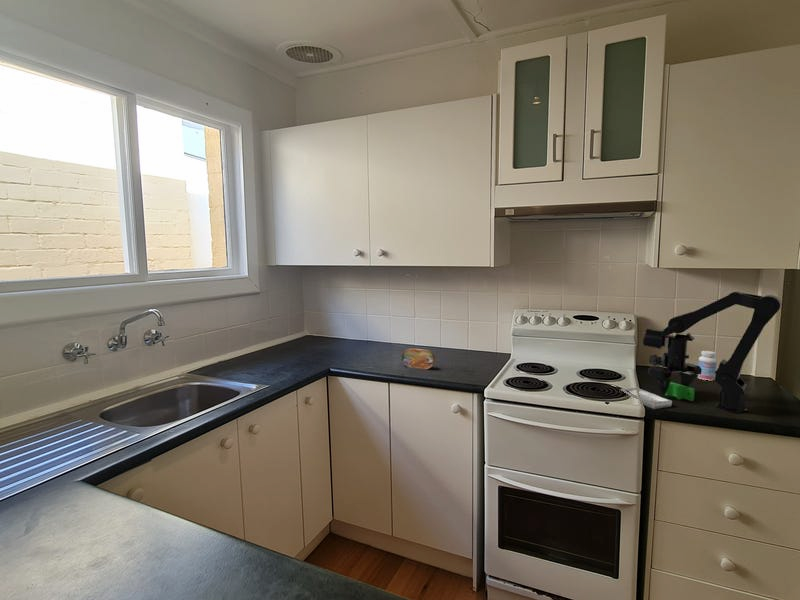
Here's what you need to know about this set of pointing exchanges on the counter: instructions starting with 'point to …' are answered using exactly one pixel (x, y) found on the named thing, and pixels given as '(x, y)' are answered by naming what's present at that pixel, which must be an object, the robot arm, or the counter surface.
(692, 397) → the pipe clamp
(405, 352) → the tin
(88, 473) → the counter surface
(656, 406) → the grey rectangular tray
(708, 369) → the pill bottle
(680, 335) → the robot arm
